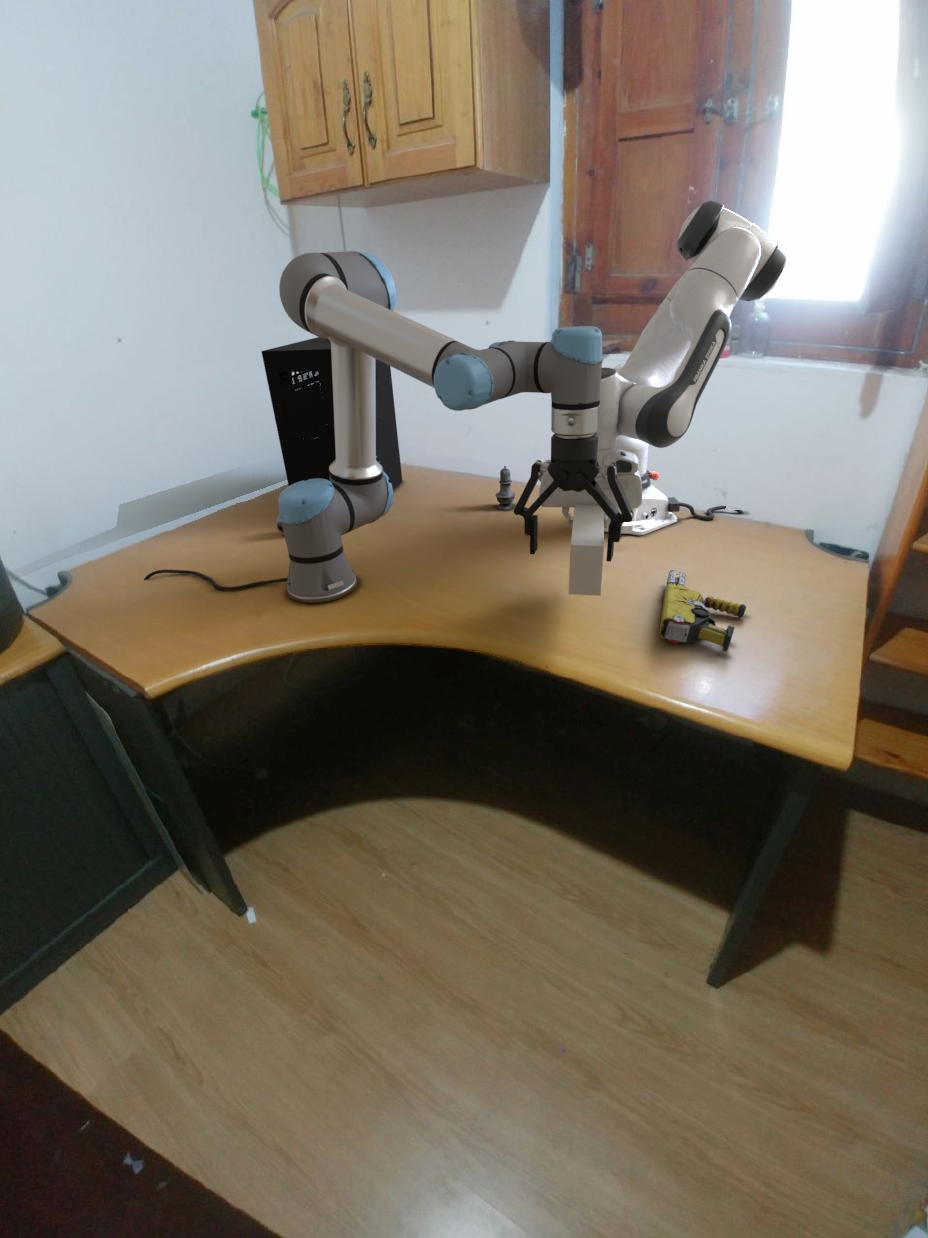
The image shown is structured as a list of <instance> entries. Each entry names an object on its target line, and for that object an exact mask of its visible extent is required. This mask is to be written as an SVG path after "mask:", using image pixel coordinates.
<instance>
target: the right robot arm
mask: <svg viewBox="0 0 928 1238" xmlns="http://www.w3.org/2000/svg"><path fill="white" fill-rule="evenodd" d="M676 246H677V251H678V253H679V254H680V256H682V258H683V259H684V260H685V261H689V262H690V264H691V265H690V267H688V268H687V269H686V271H684V273H683V274H682V275H681V277H680V278H679V279H678V280H677V281H676V283H675V284H674V285H673V287H672V288H671V289H670V291H668V293H667V295H666V296H665V297H664V299H663V300H662V302H661V303H660V305H659V306H658V308H657V309H656V310H655V312H654V314H653V315H652V316H651V318H650V319H649V321H648V322H647V324H646V326H645V327H644V329H643V330H642V332H641V334H640V336H639V338H638V340H637V341H636V343H635V345H634V347H633V349H632V351H631V352H630V354H629V357H628V358H627V359H626V361H625V362H622V363H620V364H618V365H616V366H615V367H613V368H612V367H602V370H601V386H600V414H599V430H598V431H597V432H595V433H596V434H597V435H598V454H597V461H598V464H599V466H602V465H610V464H611V463H616V465H617V476H618V479H619V481H620V483H621V486H622V488H623V490H624V492H625V495H626V497H627V499H628V501H629V504H630V506H631V508H632V510H633V513H634V515H633V518H632V521H631V522H625V523H623V524H622V528H621V535H622V534H623V535H625V534H626V535H632V536H633V535H634V536H645V535H646V534H650V533H652V532H654V531H657V530H660V529H662V528H665V527H668V526H670V525H672V524H675V523H677V522H678V516H677V515H676V514H675V513H676V512H680V508H681V507H682V508H686V509H688V510H689V512H690V514H691V516H692V517H694V518H696V519H698V520H701V521H702V520H703V521H708V520H712V519H714V518H715V514H714V513H713V512H716V511H721V510H726V509H725V508H726V506H724V505H718V506H713V507H709V508H708V509H707V510H706V514H707V515H701V514H698V513H696V512H695V509H694V507H693V506H692V505H691V504H689V503H686V502H680V501H678V499H676V497H674V496H672V497H671V496H669V497H667V496H666V495H665V494H664V493H663V492H661V491H660V490H659V489H658V488H656V487H655V486H654V485H652V483H651V480H653V481H658V479H659V478H660V473H659V472H657V471H654V470H651V471H649V470H648V469H647V466H648V458H649V457H648V455H649V446H653V447H655V448H658V449H663V448H667V447H670V446H672V445H674V444H675V443H677V442H679V440H680V439H682V437H684V436H685V434H686V433H687V431H688V430H689V429H690V428H689V427H690V425H691V423H692V420H693V417H694V413H695V410H696V408H697V406H698V403H699V400H700V398H701V397H702V395H703V392H704V390H705V389H706V386H707V385H708V382H709V381H710V379H711V377H712V375H713V373H714V371H715V369H716V367H717V365H718V363H719V361H720V359H721V357H722V355H723V353H724V351H725V349H726V346H727V344H728V341H729V339H730V336H731V332H732V321H731V318H730V316H731V314H732V311H734V308H735V307H736V306H737V304H738V302H739V301H745V302H752V301H757V300H760V299H761V298H763V297H764V296H766V295H767V294H768V293H770V292H771V291H772V290H774V288H775V287H776V286H777V285H778V284H779V282H780V281H781V279H782V277H783V275H784V273H785V270H786V267H787V266H788V263H789V255H788V253H787V251H786V250H785V248H784V247H783V246H782V244H780V243H779V242H777V243H776V242H775V241H774V240H773V239H772V238H771V237H770V236H769V235H768V234H767V233H766V232H765V231H763V230H762V229H761V228H760V227H759V226H758V225H756V224H755V223H753V222H750V221H748V220H747V219H746V218H744V217H743V216H741V215H740V214H738V213H736V212H733V211H732V210H729V209H727V208H725V205H724V204H722V203H719V202H718V201H714V200H707V201H704V202H702V203H701V205H699V206H698V207H696V208H695V209H694V210H693V211H691V212H690V214H689V215H688V216H687V217H686V219H685V220H684V222H683V224H682V226H681V228H680V230H679V234H678V240H677V241H676ZM672 378H673V379H672ZM550 461H551V459H545V460H544V461H543V462H542V463H548V464H550ZM595 480H596V481H597V483H598V484H599V487H600V488H601V489H602V491H603V492H604V493H605V494H606V496H607V497H608V498H609V499H610V501H611V502H612V503H613V504H614V506H615V507H616V508H617V510H618V511H619V512H620V513H621V511H620V508H619V506H618V504H617V502H616V499H615V497H614V495H613V493H612V491H611V488H610V486H609V483H608V479H605V478H604V477H603V475H602V474H601V473H598V475H597V476H596V477H595ZM538 481H539V482H540V485H539V490H538V491H539V492H538V497H539V496H540V495H541V494H542V493H543V492H544V491H545V489H546V488H547V487H548V486H549V485H550V484H551V483H552V482H553V478H552V477H551V476H550V474H549V473H548V471H545V473H544V474H543V475H542V476H540V477H539V479H538ZM575 505H598V503H597V502H596V501H595V500H594V498H593V497H592V496H591V495H589V494H588V492H587V491H586V490H583V491H581V492H576V491H573V490H570V491H563V490H562V489H560V488H559V487H558V488H557V489H556V490H555V491H554V492H553V493H552V494H551V495H550V496H549V497H548V498H547V500H546V501H545V502H544V503H543V504H542V505H541V506H540V507H542V508H561V513H562V515H563V516H564V518H565V520H566V528H569V529H570V528H571V529H572V527H573V517H574V516H571V514H570V513H569V512H570V508H575ZM733 511H734V512H736V513H738V514H739V515H744V514H745V513H744V511H743V510H742V509H741V510H733ZM621 514H622V513H621ZM610 521H611V520H610V518H609V517H608V516H607V515H606V513H605V512H604V533H608V528H609V524H610Z"/></svg>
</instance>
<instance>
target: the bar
mask: <svg viewBox="0 0 928 1238" xmlns="http://www.w3.org/2000/svg"><path fill="white" fill-rule="evenodd" d="M573 509H574V510H573V516H572V517H573V527H572V528H571V538H570V549H569V550H570V551H569V572H568V573H569V574H568V575H569V576H568V595H573V596H574V595H575V596H578V595H579V596H596V597H597V596H598V597H599V596H601V592H602V580H603V565H604V551H605V531H604V511H603V510H602V508H601V507H600V506H599V505H575V507H573Z"/></svg>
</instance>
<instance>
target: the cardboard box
mask: <svg viewBox="0 0 928 1238" xmlns="http://www.w3.org/2000/svg"><path fill="white" fill-rule="evenodd" d="M260 352H261V356H262V361H263V365H264V366H263V367H264V370H265V371H264V372H265V375H266V381H267V386H268V390H269V395H270V400H271V406H272V411H273V415H274V420H275V425H276V431H277V435H278V440H279V445H280V450H281V456H282V459H283V465H284V470H285V476H286V480H287V485H288V486H290V485H292V484H294V483H297V482H300V481H303V480H304V481H307V480H308V479H315V478H321V479H326V480H328V481H330V473H329V466H330V464H331V463H332V462H334V461H335V460H336V449H335V426H334V403H333V380H332V357H331V342H330V340H329V339H328V338H320V337H317V336H316V337H313V338H309V339H305V340H301V341H297V342H293V343H289V344H285V345H281V346H276V347H273V348H268V349H264V350H261V351H260ZM375 380H376V461H377V462H378V463H379V464H380V465H381V466H382V467H383V471H384V472H385V473H386V475H387V476H388V478H389V480H388V482H389V483H391V484H392V488H393V491H394V490H395V489H396V488H397V487H398V486H399V485H401V484H402V482H403V474H402V473H403V472H402V464H401V454H400V444H399V435H398V426H397V416H396V415H397V414H396V408H395V407H396V406H395V398H394V396H395V395H394V388H393V387H394V386H393V379H392V369H391V366H389V365H387V364H385V363H383V362H381V361H379V360H377V359H375Z"/></svg>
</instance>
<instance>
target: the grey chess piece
mask: <svg viewBox="0 0 928 1238" xmlns="http://www.w3.org/2000/svg"><path fill="white" fill-rule="evenodd" d="M498 483H499V492H496V493H495V497H496V500H497V502H498V504H497V505H496V508H497V509H498V510H507V511H508V510H512V509H515V507H516V505H515V504H514V503H513V502H514V500H515V499H516V495H517V493H515V492H514V491H512V488H511V487H512V485H511V484H512V483H513V481H512V480H511V470H510V469H508V468H507V466H506V465H504V466H503V468H502V469H501V470H500V471H499V481H498Z"/></svg>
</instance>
